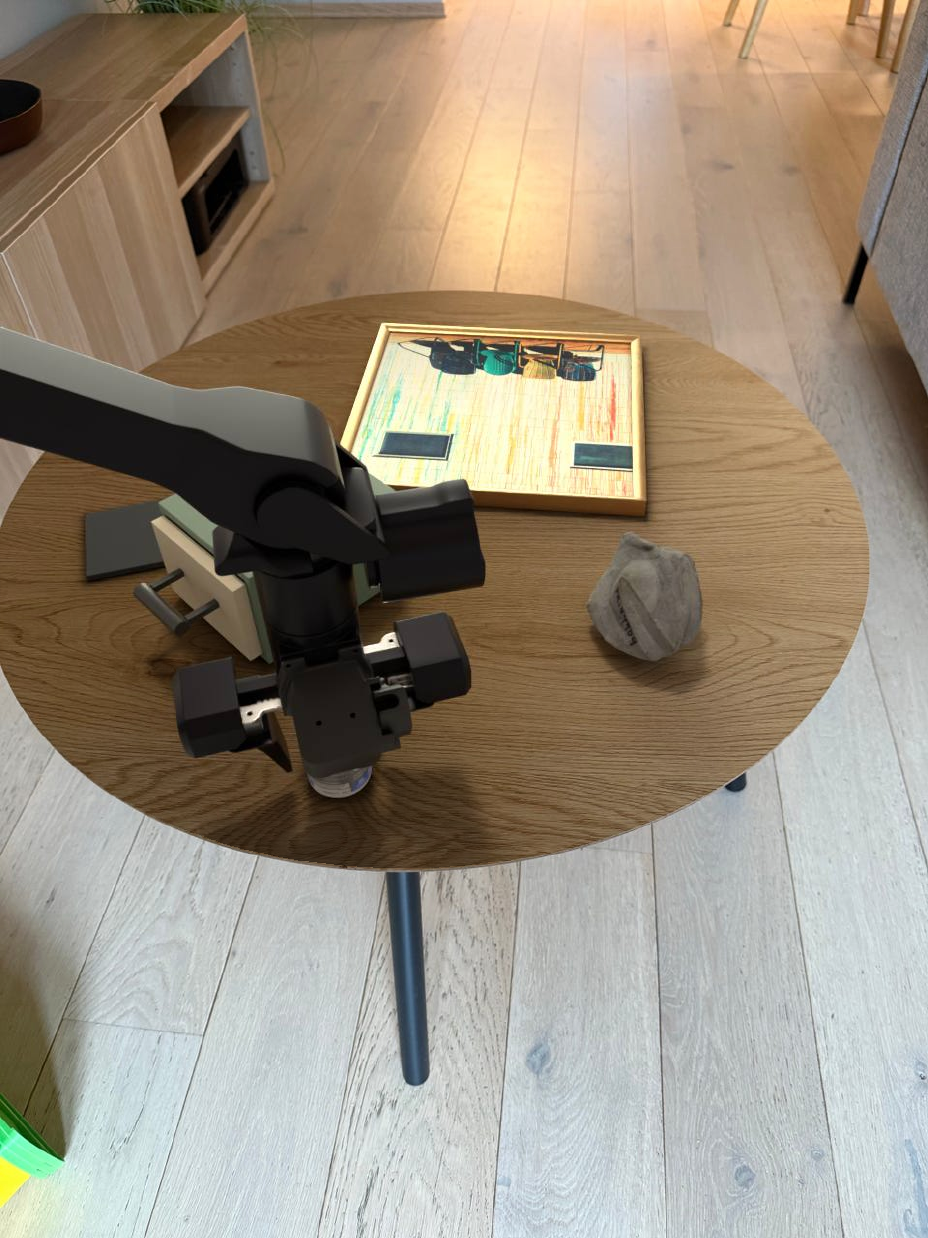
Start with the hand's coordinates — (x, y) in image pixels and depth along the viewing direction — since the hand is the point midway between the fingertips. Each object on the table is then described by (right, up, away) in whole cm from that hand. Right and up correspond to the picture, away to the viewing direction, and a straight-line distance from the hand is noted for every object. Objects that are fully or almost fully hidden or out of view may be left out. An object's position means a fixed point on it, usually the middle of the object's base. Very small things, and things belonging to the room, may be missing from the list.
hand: (337, 755), depth 68 cm
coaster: (-21, +17, +20) cm, 34 cm away
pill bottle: (0, -2, +2) cm, 2 cm away
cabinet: (-6, +13, +15) cm, 21 cm away
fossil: (+24, +9, +11) cm, 28 cm away
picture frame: (+13, +31, +33) cm, 47 cm away
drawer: (-9, +12, +13) cm, 20 cm away
